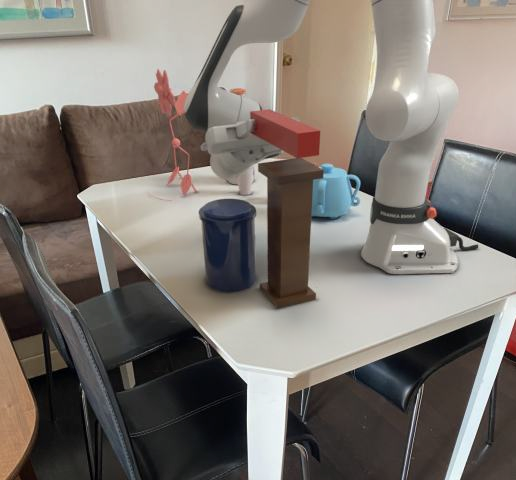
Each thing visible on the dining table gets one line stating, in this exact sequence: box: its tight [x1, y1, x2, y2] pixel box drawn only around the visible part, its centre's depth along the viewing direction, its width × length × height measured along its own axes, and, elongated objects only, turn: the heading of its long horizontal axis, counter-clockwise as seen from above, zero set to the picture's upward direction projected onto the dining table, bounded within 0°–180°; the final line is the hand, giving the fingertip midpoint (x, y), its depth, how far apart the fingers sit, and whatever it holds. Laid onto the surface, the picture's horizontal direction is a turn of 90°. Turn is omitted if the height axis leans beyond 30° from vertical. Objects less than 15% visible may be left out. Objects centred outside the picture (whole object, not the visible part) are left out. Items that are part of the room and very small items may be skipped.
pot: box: [198, 198, 257, 293], centre depth 109 cm, size 12×12×17 cm
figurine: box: [149, 68, 198, 202], centre depth 152 cm, size 15×26×35 cm, turn 29°
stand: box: [257, 157, 324, 310], centre depth 100 cm, size 9×9×27 cm
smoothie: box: [237, 164, 256, 196], centre depth 157 cm, size 6×6×14 cm
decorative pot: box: [311, 163, 361, 220], centre depth 142 cm, size 16×16×14 cm
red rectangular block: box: [250, 108, 321, 159], centre depth 92 cm, size 20×4×4 cm, turn 24°
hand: (266, 121), depth 97 cm, fingers closed on red rectangular block, 4 cm apart
